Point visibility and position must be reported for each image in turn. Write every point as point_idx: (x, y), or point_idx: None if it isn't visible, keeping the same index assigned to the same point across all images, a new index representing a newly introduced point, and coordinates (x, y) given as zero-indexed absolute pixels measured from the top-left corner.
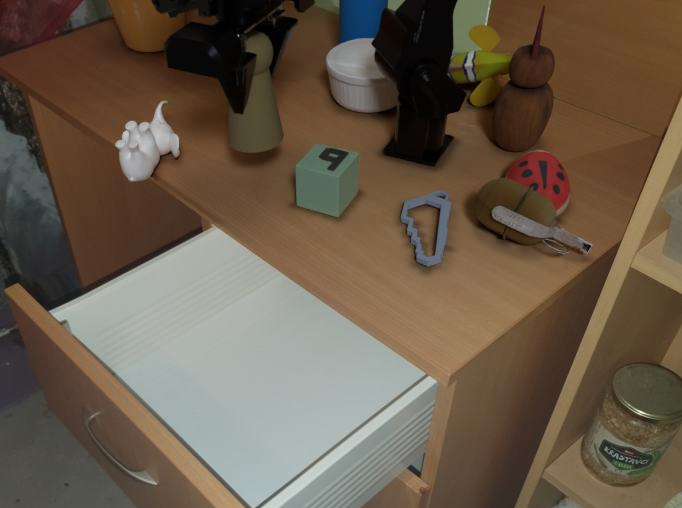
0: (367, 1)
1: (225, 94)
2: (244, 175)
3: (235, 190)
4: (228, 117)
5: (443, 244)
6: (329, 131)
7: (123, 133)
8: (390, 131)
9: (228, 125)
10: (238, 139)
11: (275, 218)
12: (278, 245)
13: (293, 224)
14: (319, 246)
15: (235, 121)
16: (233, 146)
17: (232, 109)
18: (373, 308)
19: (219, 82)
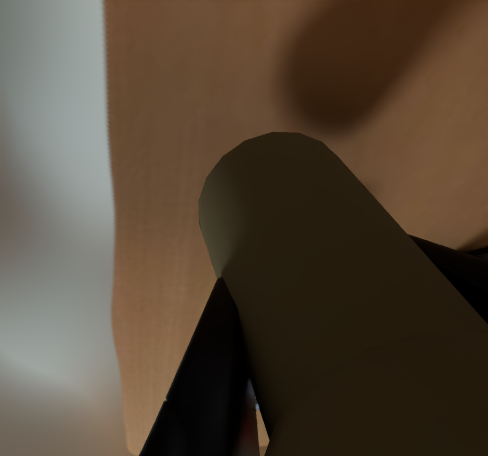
0: None
1: (189, 347)
2: (250, 126)
3: (195, 151)
4: (234, 202)
5: (256, 409)
6: (466, 156)
7: None
8: (483, 235)
9: (227, 188)
10: (204, 237)
11: (181, 260)
12: (135, 302)
13: (189, 286)
14: (176, 332)
15: (214, 259)
16: (199, 205)
17: (214, 286)
18: (139, 408)
19: (151, 431)
